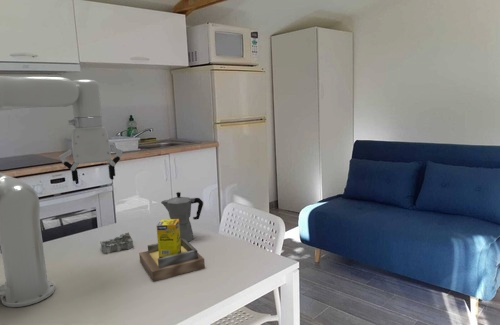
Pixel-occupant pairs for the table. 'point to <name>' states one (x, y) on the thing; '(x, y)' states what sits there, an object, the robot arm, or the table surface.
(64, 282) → the table surface
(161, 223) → the supplement box
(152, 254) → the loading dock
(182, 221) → the coffeepot
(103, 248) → the egg carton
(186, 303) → the table surface
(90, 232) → the table surface
